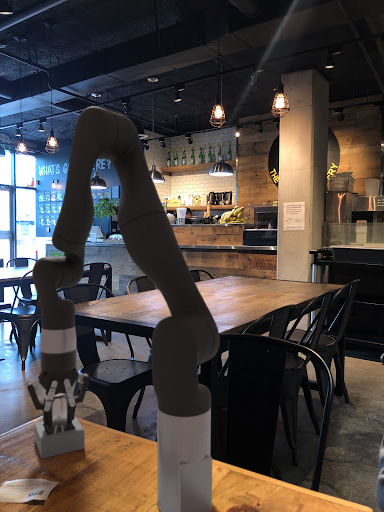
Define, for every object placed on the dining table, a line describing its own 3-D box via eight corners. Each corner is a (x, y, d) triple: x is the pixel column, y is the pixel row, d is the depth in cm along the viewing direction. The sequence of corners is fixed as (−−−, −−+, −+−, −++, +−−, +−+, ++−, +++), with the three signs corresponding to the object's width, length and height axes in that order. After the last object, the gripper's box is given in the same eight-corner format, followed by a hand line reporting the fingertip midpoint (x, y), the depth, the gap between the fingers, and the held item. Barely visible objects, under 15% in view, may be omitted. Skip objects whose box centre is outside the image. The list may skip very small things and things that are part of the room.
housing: (84, 448, 92) (84, 430, 92) (41, 458, 88) (41, 439, 88) (74, 431, 100) (74, 415, 100) (34, 440, 96) (34, 422, 95)
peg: (70, 433, 93) (70, 397, 93) (51, 437, 91) (51, 400, 91) (66, 425, 96) (66, 391, 96) (47, 429, 95) (47, 394, 94)
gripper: (26, 355, 86) (27, 438, 87) (95, 347, 93) (95, 424, 94) (21, 347, 93) (22, 424, 94) (86, 340, 100) (86, 411, 100)
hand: (59, 423), depth 94 cm, fingers closed on peg, 4 cm apart
